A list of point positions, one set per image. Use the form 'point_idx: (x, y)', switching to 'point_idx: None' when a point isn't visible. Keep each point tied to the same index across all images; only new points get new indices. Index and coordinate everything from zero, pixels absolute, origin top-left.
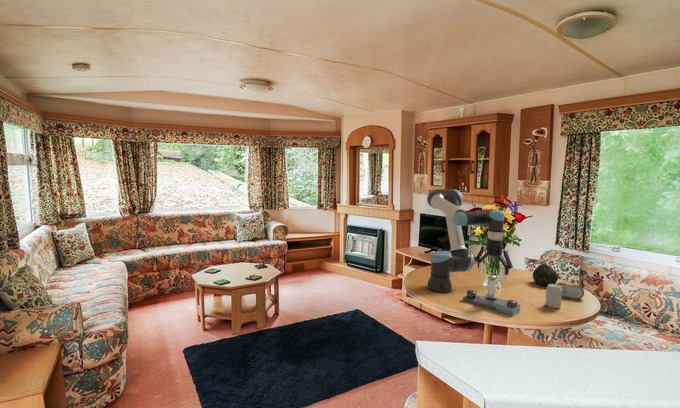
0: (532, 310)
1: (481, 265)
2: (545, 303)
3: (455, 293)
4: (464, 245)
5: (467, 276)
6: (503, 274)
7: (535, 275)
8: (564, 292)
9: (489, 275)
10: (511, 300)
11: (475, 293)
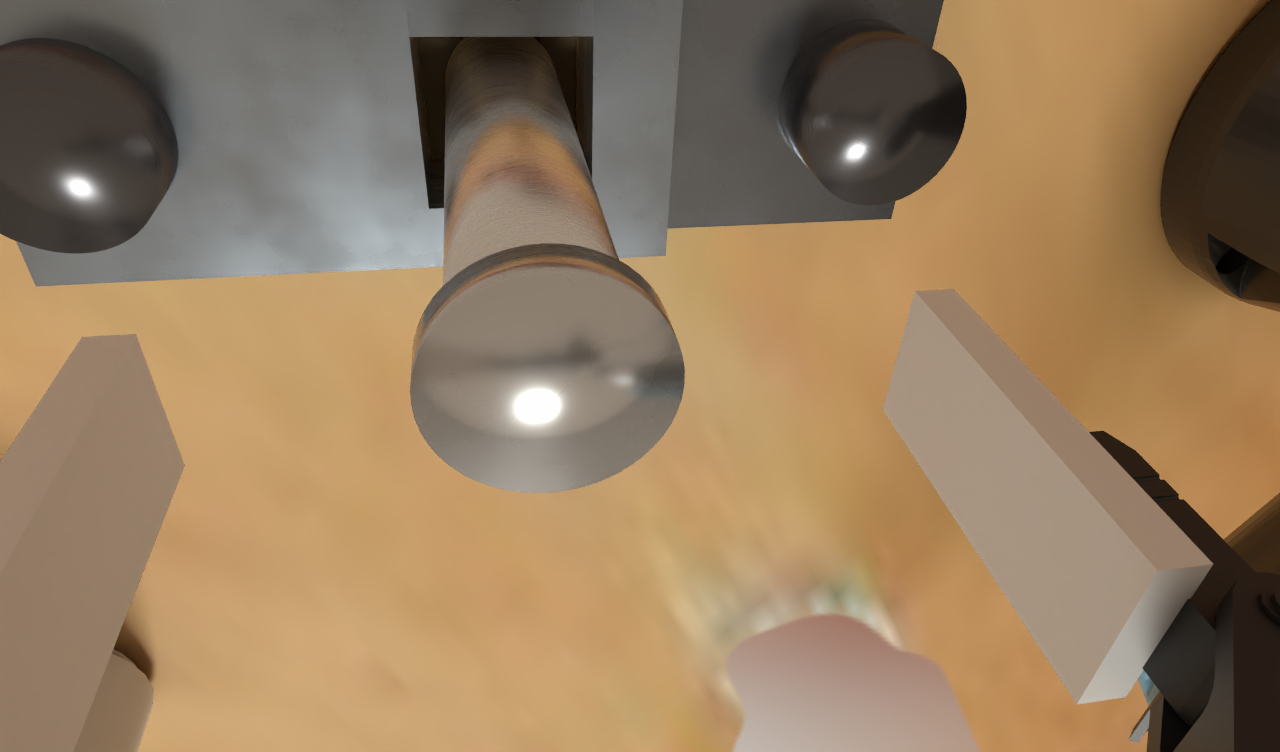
0: None
1: (1055, 544)
2: (120, 663)
3: (1095, 145)
4: None
5: None
6: (26, 487)
7: None
8: None
9: (641, 376)
10: (109, 216)
11: (808, 120)
